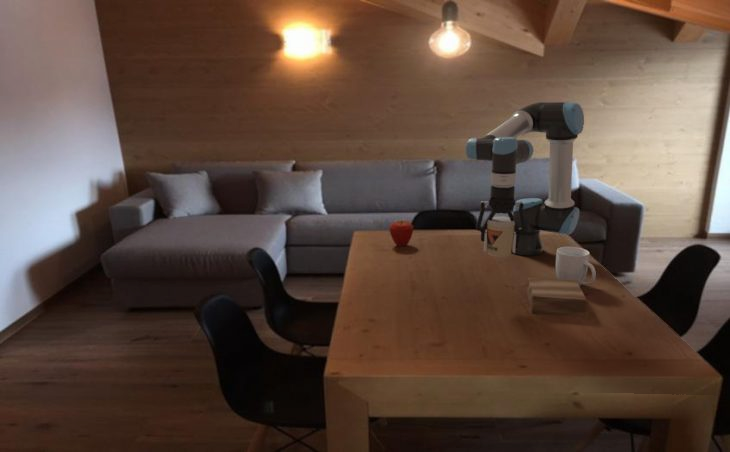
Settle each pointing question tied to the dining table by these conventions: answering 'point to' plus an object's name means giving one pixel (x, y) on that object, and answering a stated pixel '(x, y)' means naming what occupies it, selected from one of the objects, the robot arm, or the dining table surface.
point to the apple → (401, 232)
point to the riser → (556, 297)
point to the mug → (573, 265)
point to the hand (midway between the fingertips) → (499, 250)
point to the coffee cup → (500, 236)
